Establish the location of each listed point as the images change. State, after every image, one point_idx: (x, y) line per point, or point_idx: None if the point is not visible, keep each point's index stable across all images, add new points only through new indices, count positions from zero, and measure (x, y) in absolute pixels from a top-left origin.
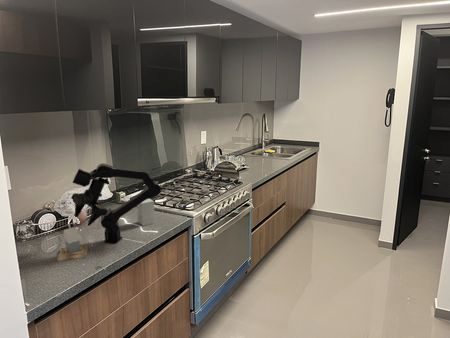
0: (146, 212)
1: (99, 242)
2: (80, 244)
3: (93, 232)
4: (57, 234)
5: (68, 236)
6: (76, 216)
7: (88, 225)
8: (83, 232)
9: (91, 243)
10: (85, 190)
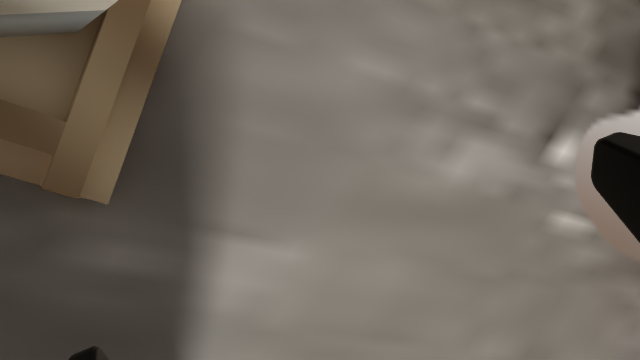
0: None
1: (146, 354)
2: (106, 100)
3: (455, 323)
4: (603, 9)
5: None
6: (601, 165)
7: (78, 358)
8: (510, 232)
9: (180, 257)
10: None
